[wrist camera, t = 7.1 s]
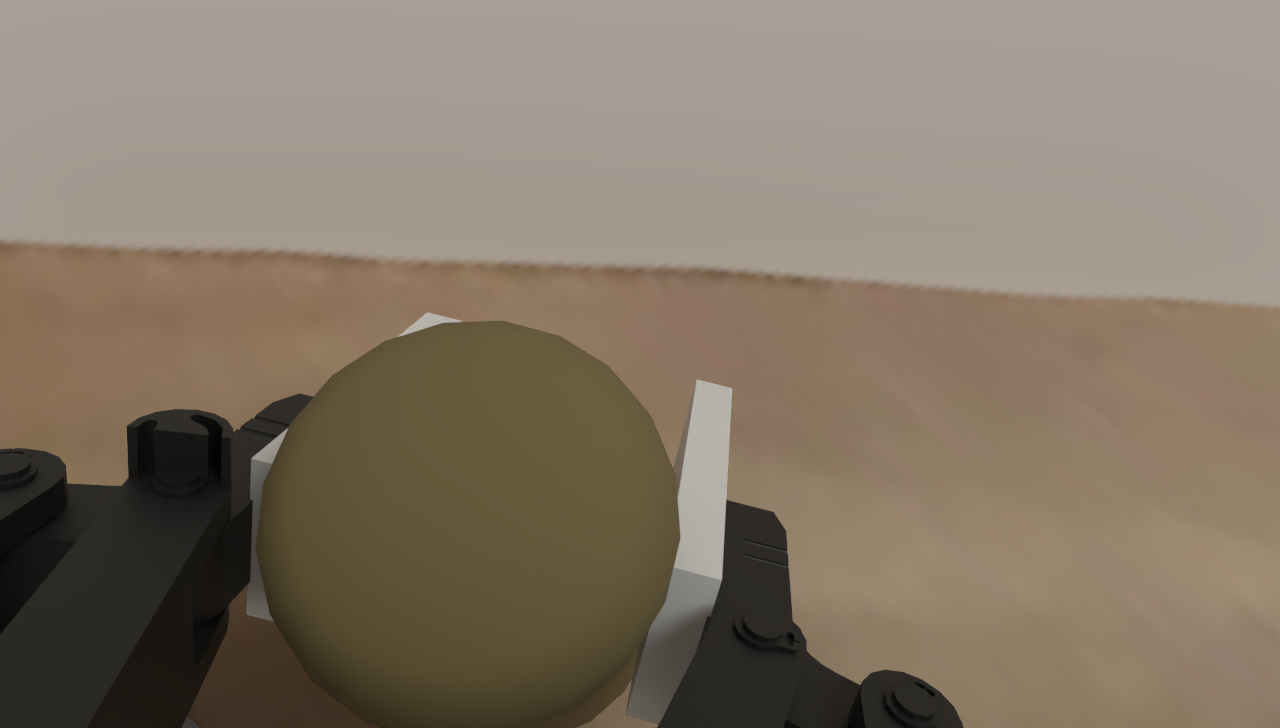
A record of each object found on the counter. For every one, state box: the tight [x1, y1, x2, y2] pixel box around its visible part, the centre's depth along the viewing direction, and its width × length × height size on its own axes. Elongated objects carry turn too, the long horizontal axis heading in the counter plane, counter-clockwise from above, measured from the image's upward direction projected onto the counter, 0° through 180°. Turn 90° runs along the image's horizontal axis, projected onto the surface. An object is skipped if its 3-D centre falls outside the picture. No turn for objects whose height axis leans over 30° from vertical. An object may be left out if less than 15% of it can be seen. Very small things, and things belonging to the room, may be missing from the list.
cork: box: [256, 321, 681, 728], centre depth 14 cm, size 6×6×11 cm
